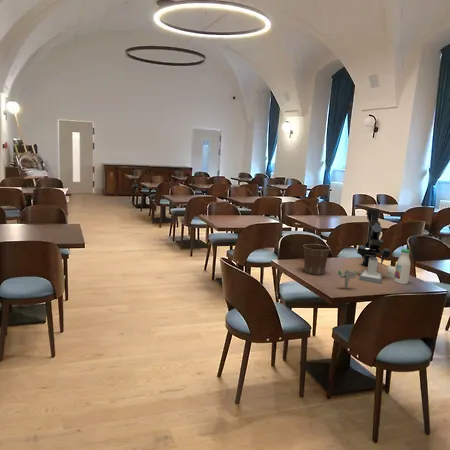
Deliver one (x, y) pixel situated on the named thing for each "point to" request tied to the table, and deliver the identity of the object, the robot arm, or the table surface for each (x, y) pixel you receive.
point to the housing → (372, 266)
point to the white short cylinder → (391, 271)
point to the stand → (371, 277)
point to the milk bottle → (403, 267)
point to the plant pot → (315, 258)
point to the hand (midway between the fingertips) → (373, 263)
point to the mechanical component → (347, 276)
